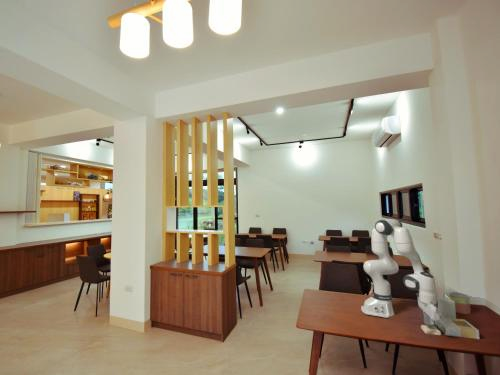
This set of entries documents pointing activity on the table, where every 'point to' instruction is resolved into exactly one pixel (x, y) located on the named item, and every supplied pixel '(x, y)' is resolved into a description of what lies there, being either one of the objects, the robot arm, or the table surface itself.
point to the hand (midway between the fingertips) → (429, 320)
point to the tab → (430, 330)
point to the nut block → (427, 320)
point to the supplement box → (446, 308)
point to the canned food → (461, 302)
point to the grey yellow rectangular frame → (457, 328)
